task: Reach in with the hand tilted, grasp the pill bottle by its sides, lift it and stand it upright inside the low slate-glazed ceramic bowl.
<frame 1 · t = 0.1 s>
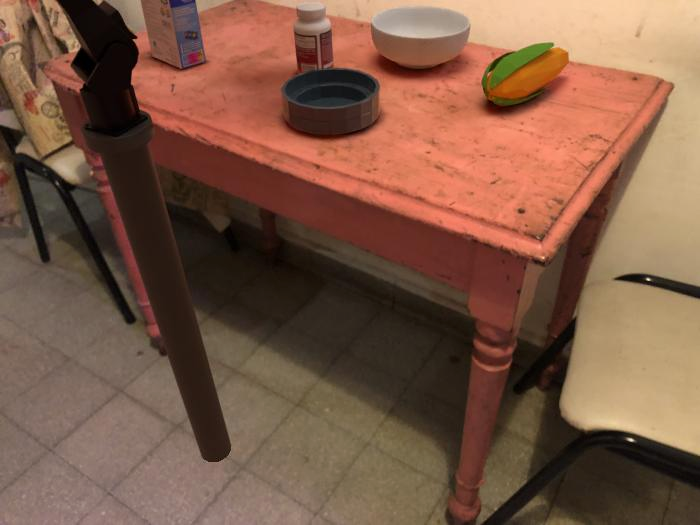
ink cartridge box: (180, 60, 107), on the table
cereal bowl: (418, 62, 104), on the table
pill bottle: (315, 74, 100), on the table
corn: (523, 94, 92), on the table
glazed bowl: (331, 115, 88), on the table
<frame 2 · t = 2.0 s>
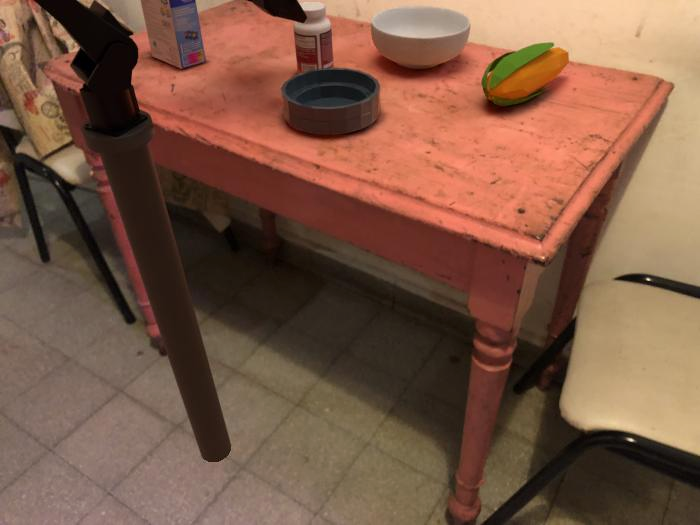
hand: (289, 12, 92), 11 cm above the table, tool tilted 45°, fingers open, 9 cm apart
nothing on the table moved.
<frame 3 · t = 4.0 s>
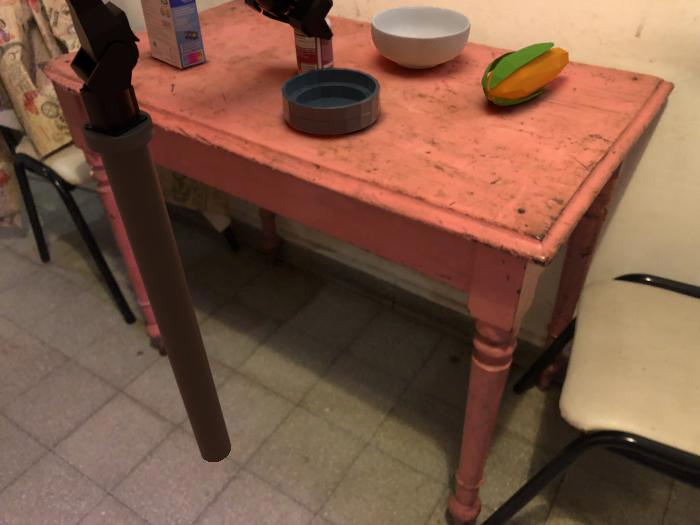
hand: (320, 32, 97), 7 cm above the table, tool tilted 45°, fingers closed on pill bottle, 6 cm apart
pill bottle: (315, 74, 100), on the table, touching gripper
everything else where it was.
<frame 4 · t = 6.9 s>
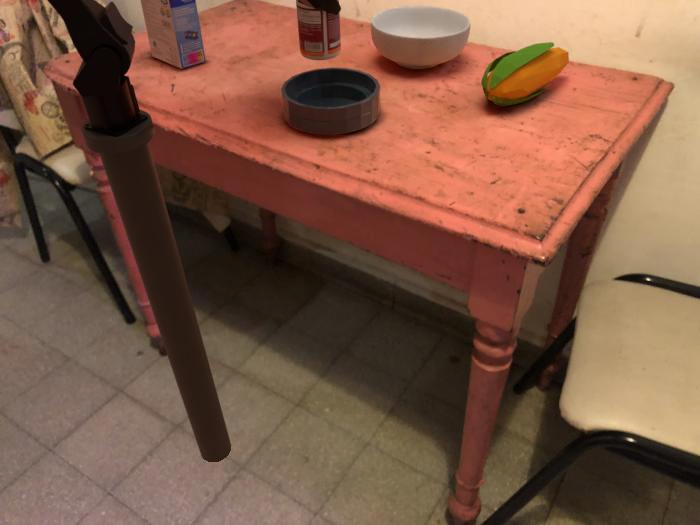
hand: (326, 6, 85), 13 cm above the table, tool tilted 45°, fingers closed on pill bottle, 6 cm apart
pill bottle: (320, 55, 89), point 7 cm above the table, touching gripper
everything else where it was.
when the fingers open (7 cm above the table, at t = 10.0 s): pill bottle stays where it is, resting on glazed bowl.
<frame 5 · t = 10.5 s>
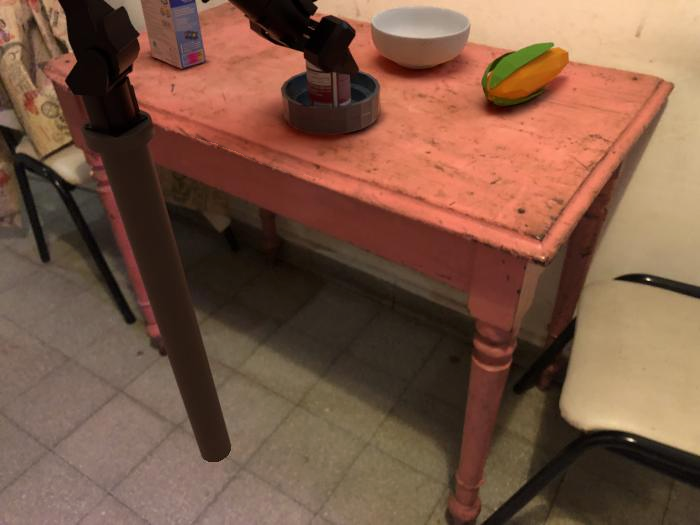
hand: (337, 62, 84), 8 cm above the table, tool tilted 45°, fingers open, 9 cm apart
pill bottle: (330, 113, 88), resting on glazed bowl
everything else where it was.
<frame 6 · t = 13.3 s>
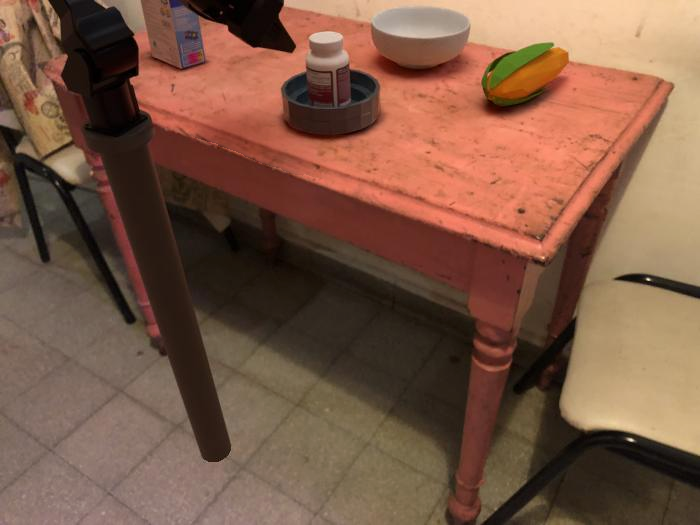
hand: (275, 39, 76), 13 cm above the table, tool tilted 45°, fingers open, 9 cm apart
nothing on the table moved.
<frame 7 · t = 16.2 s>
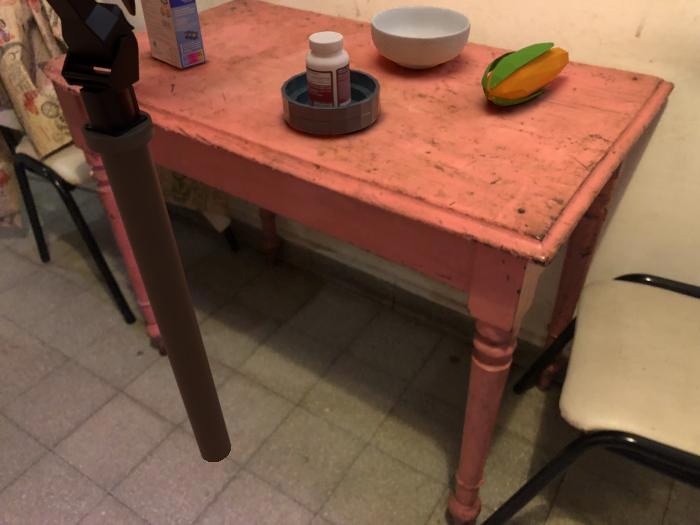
hand: (158, 6, 90), 13 cm above the table, tool pointing down, fingers open, 9 cm apart
nothing on the table moved.
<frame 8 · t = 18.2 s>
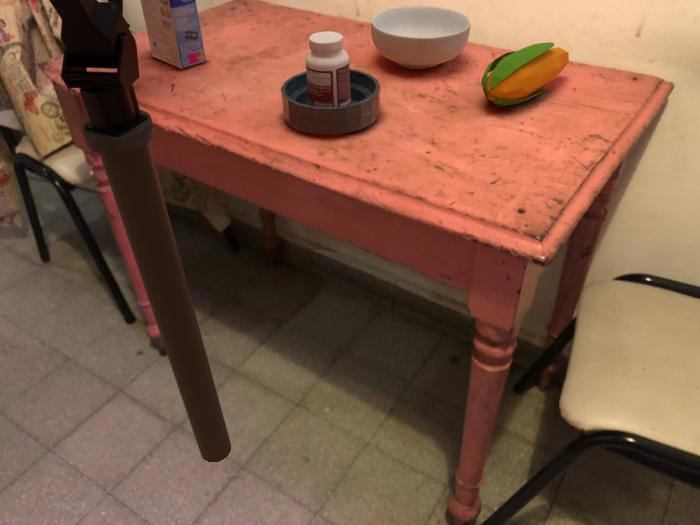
hand: (141, 4, 89), 13 cm above the table, tool pointing down, fingers open, 9 cm apart
nothing on the table moved.
at the end: pill bottle inside the target area in the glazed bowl (0.2 cm from its centre), point 0.4 cm above the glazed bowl's base; pill bottle tilted 0°; the gripper is holding nothing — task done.
